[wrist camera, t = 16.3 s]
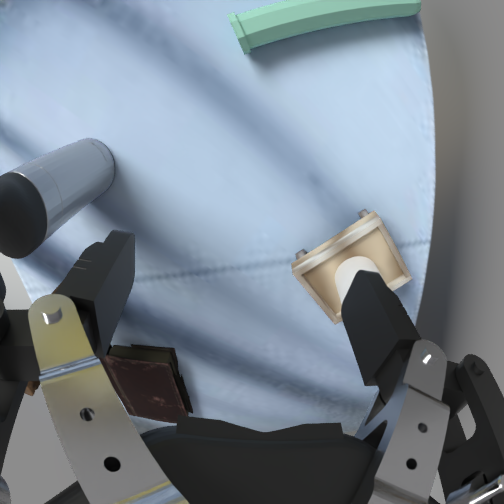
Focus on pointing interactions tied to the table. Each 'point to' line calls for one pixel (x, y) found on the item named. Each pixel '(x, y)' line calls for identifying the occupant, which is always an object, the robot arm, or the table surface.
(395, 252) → the shallow wooden tray
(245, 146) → the table surface
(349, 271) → the can
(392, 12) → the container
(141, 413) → the diary
